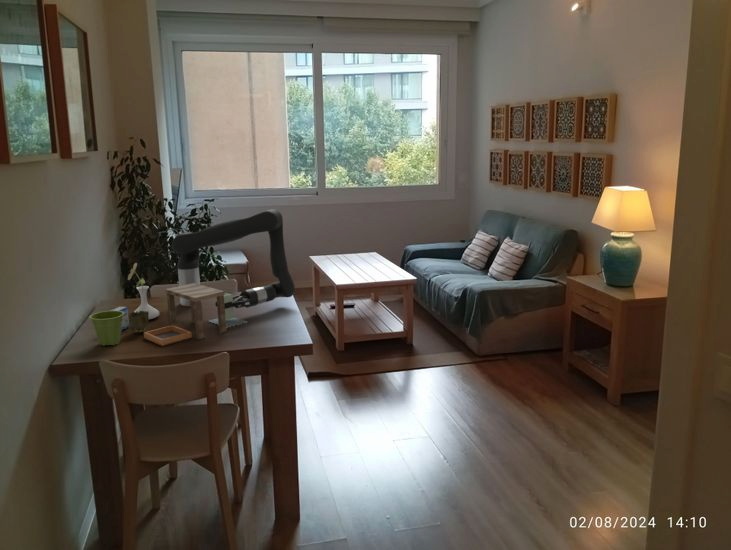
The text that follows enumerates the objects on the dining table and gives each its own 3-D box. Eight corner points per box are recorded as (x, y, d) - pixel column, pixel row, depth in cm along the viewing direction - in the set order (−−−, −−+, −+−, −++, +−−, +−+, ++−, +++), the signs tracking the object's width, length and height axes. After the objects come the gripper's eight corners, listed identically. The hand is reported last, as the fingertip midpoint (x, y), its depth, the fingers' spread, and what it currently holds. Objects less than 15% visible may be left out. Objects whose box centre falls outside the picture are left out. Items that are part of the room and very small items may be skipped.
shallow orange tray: (144, 338, 230) (143, 332, 229) (172, 331, 238) (172, 325, 238) (162, 346, 220) (162, 340, 220) (191, 338, 229) (191, 332, 228)
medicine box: (118, 333, 237) (116, 312, 236) (108, 332, 238) (105, 311, 236) (130, 327, 245) (127, 306, 243) (120, 326, 246) (117, 306, 244)
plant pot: (115, 349, 218) (112, 319, 216) (86, 348, 221) (82, 318, 218) (133, 338, 230) (130, 310, 227) (105, 337, 232) (101, 309, 229)
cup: (135, 329, 242) (133, 310, 240) (153, 329, 241) (151, 310, 240) (127, 335, 234) (125, 315, 233) (146, 335, 234) (143, 315, 232)
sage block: (218, 318, 248) (216, 295, 245) (227, 315, 251) (226, 292, 249) (224, 320, 245) (223, 296, 242) (234, 317, 248) (232, 294, 246)
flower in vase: (141, 314, 263) (135, 258, 258) (165, 315, 261) (159, 259, 255) (123, 323, 251) (117, 264, 245) (148, 324, 248) (142, 265, 243)
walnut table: (168, 328, 241) (164, 289, 238) (197, 321, 250) (193, 283, 247) (198, 340, 226) (194, 297, 223) (227, 331, 236) (224, 291, 232)
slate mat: (207, 321, 250) (207, 320, 249) (228, 316, 257) (228, 315, 257) (227, 328, 240) (227, 327, 240) (247, 322, 247) (247, 321, 247)
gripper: (243, 286, 260) (209, 293, 248) (263, 290, 251) (228, 299, 239) (244, 302, 262) (210, 311, 250) (264, 308, 253) (230, 317, 240)
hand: (219, 305), depth 244 cm, fingers closed on sage block, 4 cm apart
